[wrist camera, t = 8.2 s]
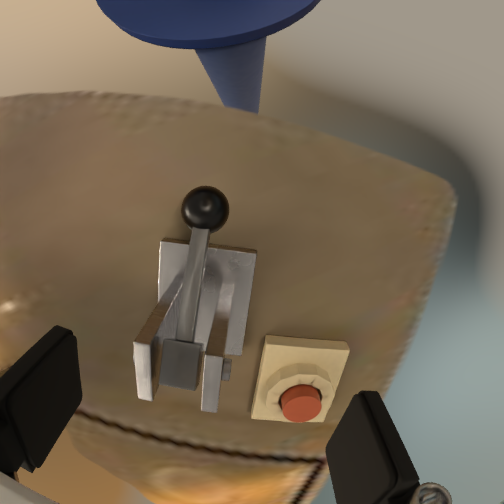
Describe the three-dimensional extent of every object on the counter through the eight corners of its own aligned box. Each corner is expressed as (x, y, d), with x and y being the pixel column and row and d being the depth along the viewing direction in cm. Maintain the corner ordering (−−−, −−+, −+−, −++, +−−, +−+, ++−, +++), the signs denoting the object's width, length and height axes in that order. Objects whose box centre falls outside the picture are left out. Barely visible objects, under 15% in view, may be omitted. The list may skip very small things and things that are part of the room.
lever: (189, 195, 22) (183, 175, 19) (232, 200, 23) (232, 180, 19) (160, 376, 19) (148, 384, 16) (207, 384, 19) (202, 393, 16)
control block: (265, 334, 29) (267, 355, 25) (345, 341, 29) (355, 361, 26) (251, 408, 31) (251, 430, 28) (320, 412, 32) (326, 433, 28)
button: (285, 382, 27) (286, 395, 25) (322, 384, 27) (326, 396, 25) (278, 409, 28) (279, 421, 26) (313, 411, 28) (316, 423, 26)
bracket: (163, 237, 26) (105, 291, 15) (256, 249, 26) (259, 315, 15) (160, 336, 29) (120, 421, 18) (242, 349, 29) (236, 442, 18)
